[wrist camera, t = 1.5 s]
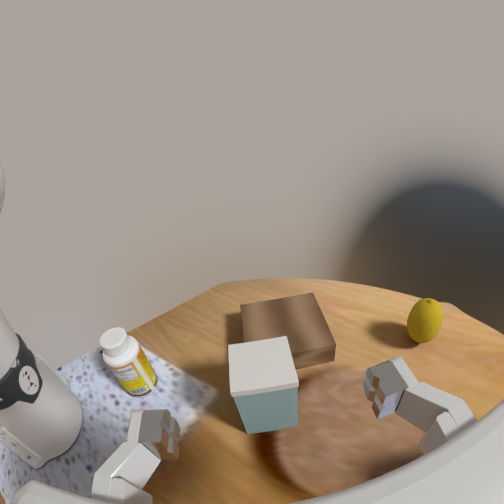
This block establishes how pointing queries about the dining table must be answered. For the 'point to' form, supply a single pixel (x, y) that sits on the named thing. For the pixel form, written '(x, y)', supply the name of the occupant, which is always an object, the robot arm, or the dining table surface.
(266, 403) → the tea tin
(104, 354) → the supplement bottle
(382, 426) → the dining table surface
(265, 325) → the walnut block
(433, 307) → the lemon
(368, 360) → the dining table surface
